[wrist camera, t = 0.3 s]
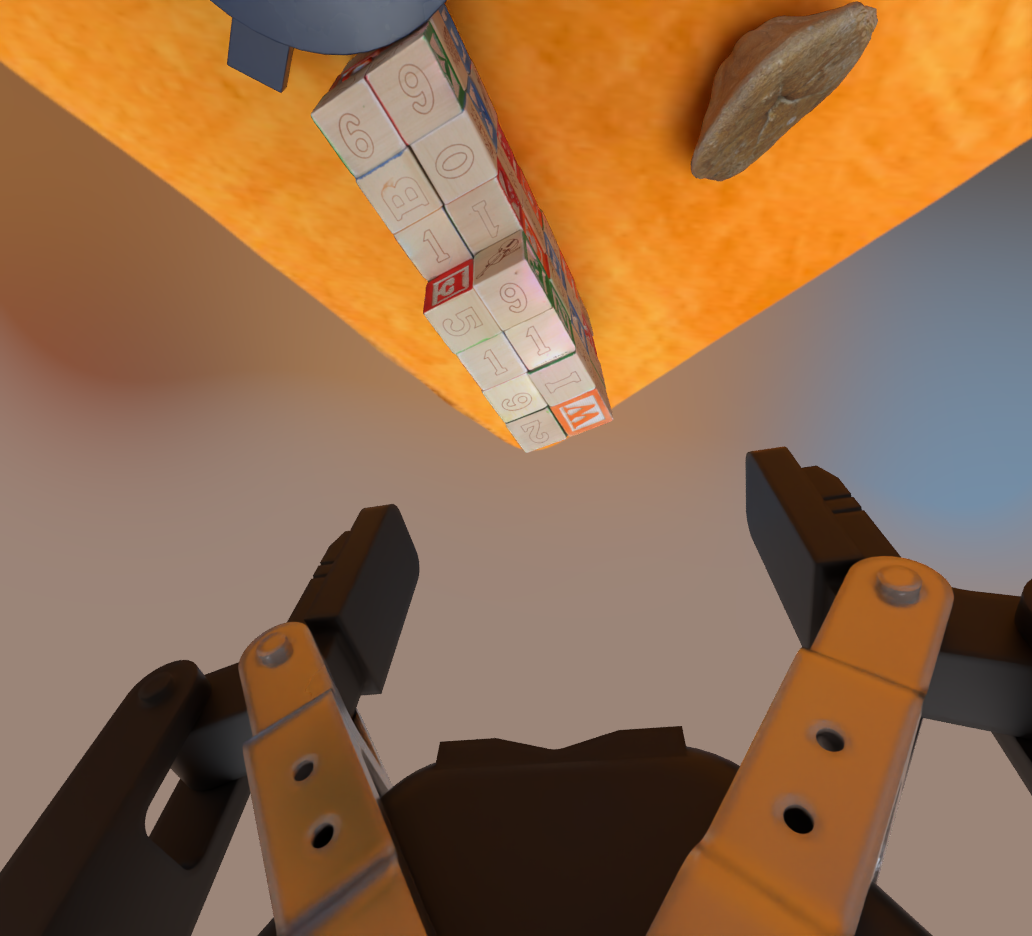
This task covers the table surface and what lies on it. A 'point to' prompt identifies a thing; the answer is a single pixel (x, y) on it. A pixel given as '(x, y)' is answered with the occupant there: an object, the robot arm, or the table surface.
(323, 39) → the lid
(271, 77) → the pot
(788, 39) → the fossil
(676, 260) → the table surface
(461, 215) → the stack of blocks
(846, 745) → the robot arm
